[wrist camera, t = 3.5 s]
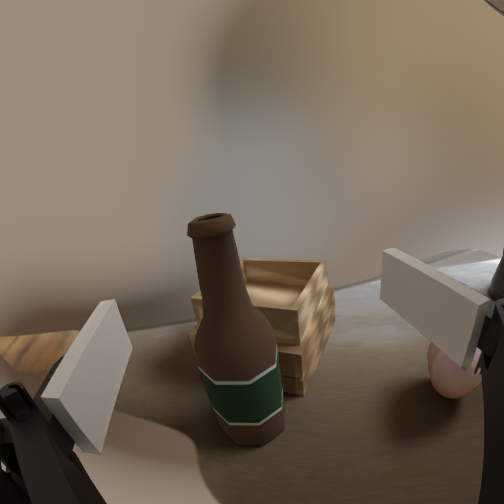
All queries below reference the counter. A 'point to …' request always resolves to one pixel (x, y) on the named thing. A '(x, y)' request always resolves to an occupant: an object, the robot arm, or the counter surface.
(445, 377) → the decorative fruit
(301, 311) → the top crate
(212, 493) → the counter surface
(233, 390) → the beer bottle
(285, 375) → the base crate
